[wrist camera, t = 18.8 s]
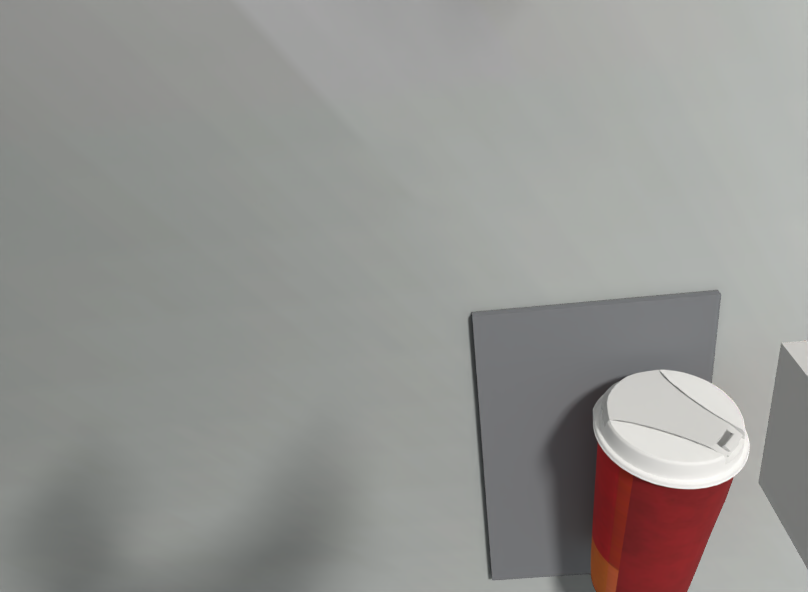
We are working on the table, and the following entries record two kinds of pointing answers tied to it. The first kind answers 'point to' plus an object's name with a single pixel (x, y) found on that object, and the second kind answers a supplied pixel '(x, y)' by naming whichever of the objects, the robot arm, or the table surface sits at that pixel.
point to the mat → (567, 412)
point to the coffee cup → (660, 478)
